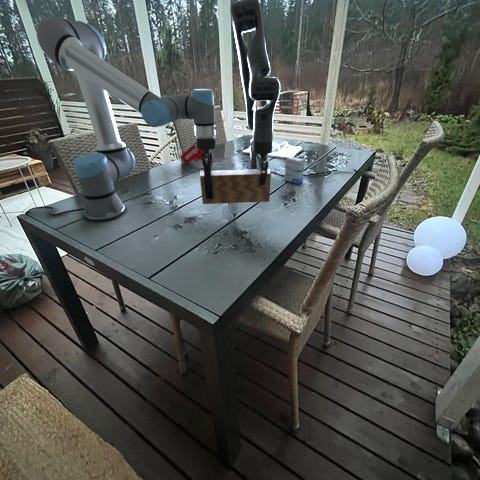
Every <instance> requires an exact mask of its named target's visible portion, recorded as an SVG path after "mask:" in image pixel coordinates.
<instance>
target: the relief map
mask: <svg viewBox="0 0 480 480" xmlns="http://www.w3.org/2000/svg"><path fill="white" fill-rule="evenodd" d="M302 147H303V146H294V145H292V144H290V143H289V142H288V141H284V142H282V143H280V144H279V143H278V142H276V141H273V144H272V152H271V153H269V154H268V157H271V158H277V159H285V160H286V159H287V158H289V157H296V156H297V155H298V154H299V153H300V152H302V151H303V150H304V148H303V149H302ZM250 148H251V145H250V146H249V147H248V148H247V149H245V150H242V153H243V154H247V155H248V154H249V155H250ZM296 153H297V154H296Z"/></svg>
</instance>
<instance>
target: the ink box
mask: <svg viewBox="0 0 480 480" xmlns="http://www.w3.org/2000/svg"><path fill="white" fill-rule="evenodd" d="M305 162H306V159H304V158H299V157H296V156H294V157H289V158H287V159H286V158H285V169H284V175H285V177H284V181H285V182H289V183H293V184H295V185H298V184H300V183H302V182H303V180H304V176H303V175H304V173H305V171H304V170H305Z"/></svg>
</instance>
